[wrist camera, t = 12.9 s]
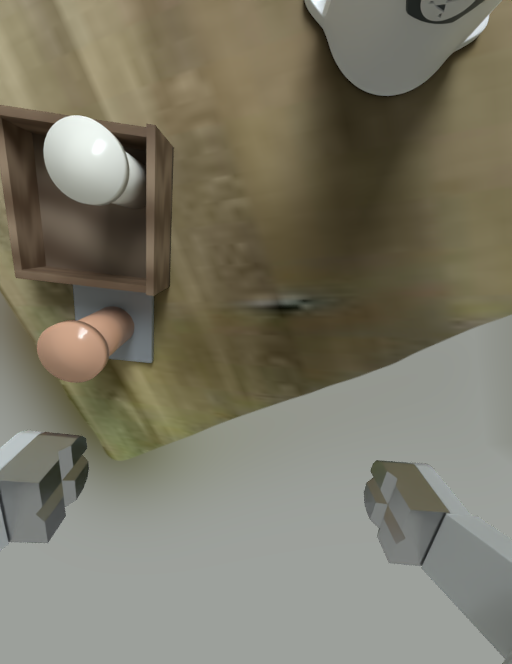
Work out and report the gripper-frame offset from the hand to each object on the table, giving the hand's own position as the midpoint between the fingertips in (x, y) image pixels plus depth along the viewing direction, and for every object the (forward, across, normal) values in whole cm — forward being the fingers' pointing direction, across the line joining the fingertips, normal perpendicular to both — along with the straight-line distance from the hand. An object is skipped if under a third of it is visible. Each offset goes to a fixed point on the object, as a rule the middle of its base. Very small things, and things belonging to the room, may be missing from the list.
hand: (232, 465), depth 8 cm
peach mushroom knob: (+30, +17, +7) cm, 35 cm away
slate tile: (+31, +17, +7) cm, 36 cm away
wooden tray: (+31, +18, -7) cm, 36 cm away
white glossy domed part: (+30, +14, -10) cm, 35 cm away
